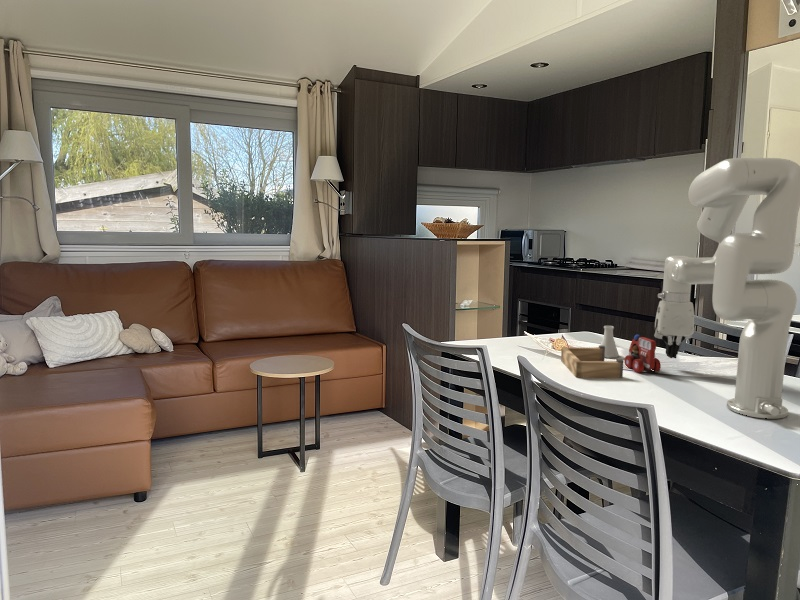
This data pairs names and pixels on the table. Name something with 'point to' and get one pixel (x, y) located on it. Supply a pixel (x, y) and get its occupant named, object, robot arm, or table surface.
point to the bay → (591, 363)
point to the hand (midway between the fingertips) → (671, 356)
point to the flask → (609, 343)
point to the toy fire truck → (642, 355)
